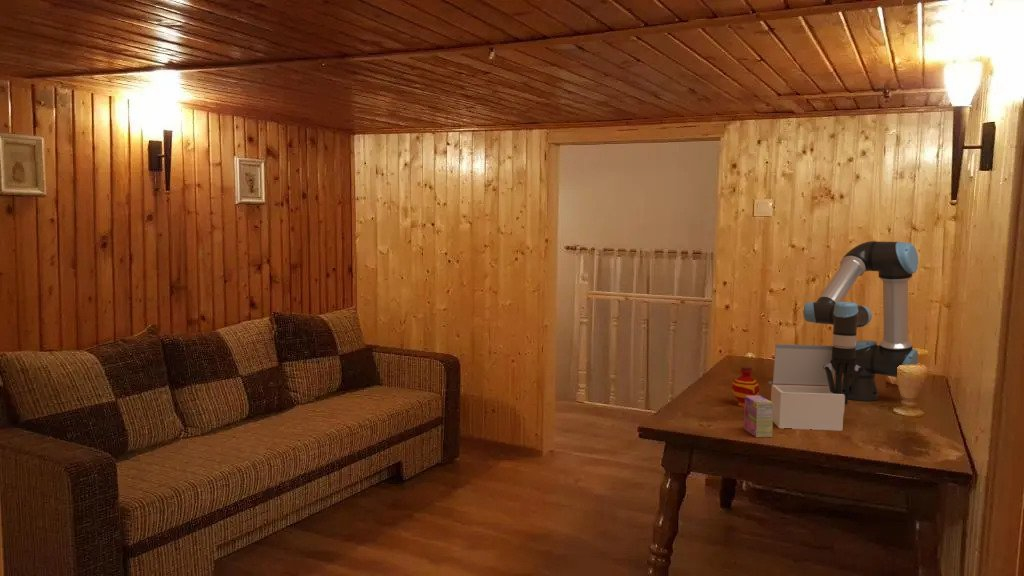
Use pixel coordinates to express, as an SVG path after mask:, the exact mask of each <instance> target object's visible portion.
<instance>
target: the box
mask: <svg viewBox="0 0 1024 576" xmlns="http://www.w3.org/2000/svg"><path fill="white" fill-rule="evenodd" d="M743 417H744V420H743V422H744V423H743V430H744V431H746V432H747V433H749V434H751V435H752V436H753V437H755V438H772V437H773V424H774V422H773V402H771V400H769V399H767V398H765V397H764V396H762V395H758V396H745V407H744V416H743Z"/></svg>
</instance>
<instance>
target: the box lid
mask: <svg viewBox="0 0 1024 576" xmlns="http://www.w3.org/2000/svg"><path fill="white" fill-rule="evenodd" d="M833 346H834V345H818V344H817V345H816V344H815V345H813V344H811V345H810V344H783V343H782V344H780V343H779V344H777V343H776V344H775V349H774V350H775V351H774V362H773V363H774V364H773V372H772V373H773V374H772V384H773V385H802V386H829V384H828V379H827V374H826V371H825V369H824V368H823V366H824V365H828V364H830V361H831V359H832V347H833ZM831 372H832V376H833V381H834V382H835V378H836V371H835V370H834V369H833V367H832V370H831Z"/></svg>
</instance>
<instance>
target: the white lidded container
mask: <svg viewBox="0 0 1024 576" xmlns="http://www.w3.org/2000/svg"><path fill="white" fill-rule="evenodd" d="M767 385H770V386H771V393H770V401H771V402H773V424H775V425H776V427H777V428H779V429H784V428H792V430H810V429H812V431H813V430H814V431H815V430H816V431H817V430H818V431H840V432H841V431H842V432H843V428H844V427H843V425H844V414H843V411H844V412H845V409H844V394H833V393H832V392H830V388H829V385H800V384H773V380H771V381H769V380H768V381H767ZM835 385H836V383H834V386H835Z"/></svg>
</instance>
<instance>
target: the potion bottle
mask: <svg viewBox="0 0 1024 576" xmlns="http://www.w3.org/2000/svg"><path fill="white" fill-rule="evenodd" d="M740 367H741V369H740V372H741V373H742V375H741V376H739V377H738V378H735V379H734V380H733V381H732V382H731V384H732V386H731V387H730V389H731V393H732V394H733V396H734V397H735V398H736V399H737V400H738V401H739V402H738V403H737V405H738V407H744V408H745V396H760V385H759V383H758V382H757V379H756V378H754V377H752V376H751V374H752V373H753V370H752V369H753V367H752V366H750V365H749V366H748V365H741V366H740Z"/></svg>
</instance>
